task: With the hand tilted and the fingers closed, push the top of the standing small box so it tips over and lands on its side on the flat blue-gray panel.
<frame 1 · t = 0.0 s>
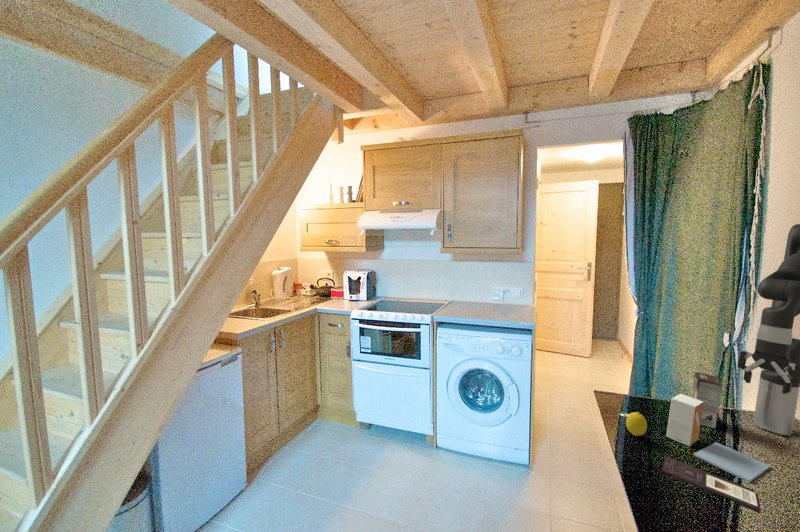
hand: (765, 387, 110), 17 cm above the countertop, tool pointing down, fingers open, 8 cm apart
lemon: (634, 436, 108), on the countertop
small box: (682, 439, 108), on the countertop
flat blue-gray panel: (731, 461, 98), on the countertop
chocolate bar: (706, 484, 88), on the countertop
coffee box: (701, 420, 121), on the countertop
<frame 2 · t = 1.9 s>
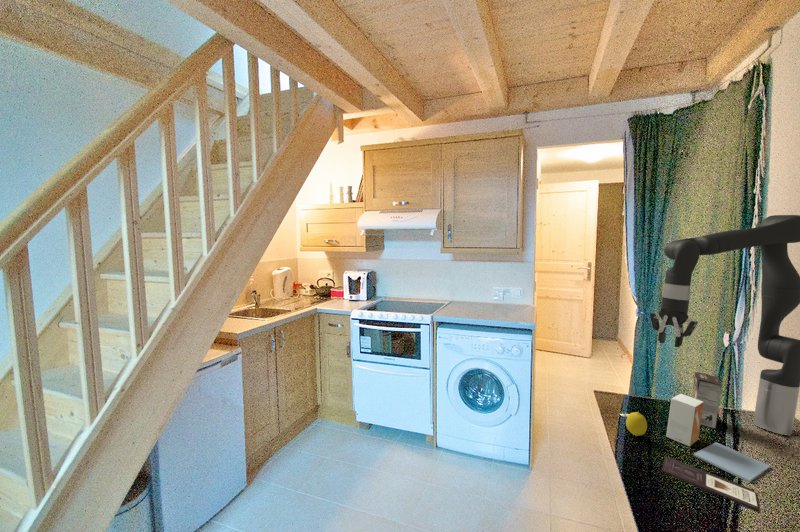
hand: (669, 344, 119), 27 cm above the countertop, tool pointing down, fingers open, 4 cm apart
nothing on the countertop moved.
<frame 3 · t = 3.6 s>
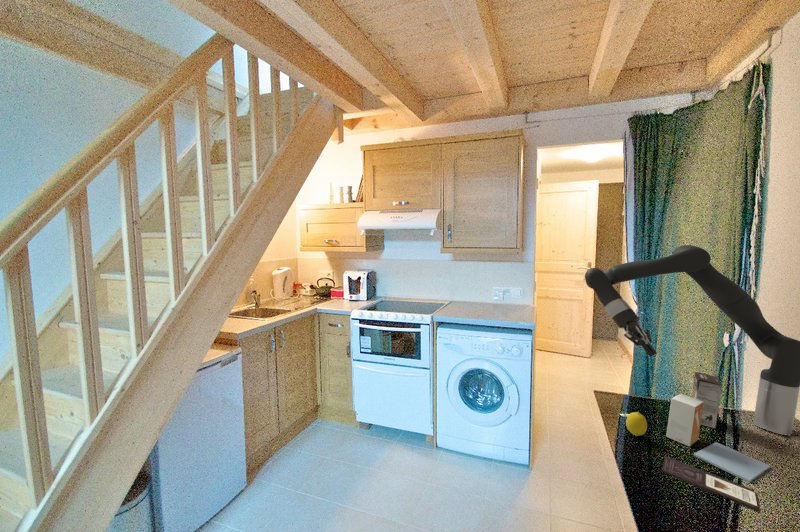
hand: (653, 355, 118), 24 cm above the countertop, tool tilted 45°, fingers closed
nothing on the countertop moved.
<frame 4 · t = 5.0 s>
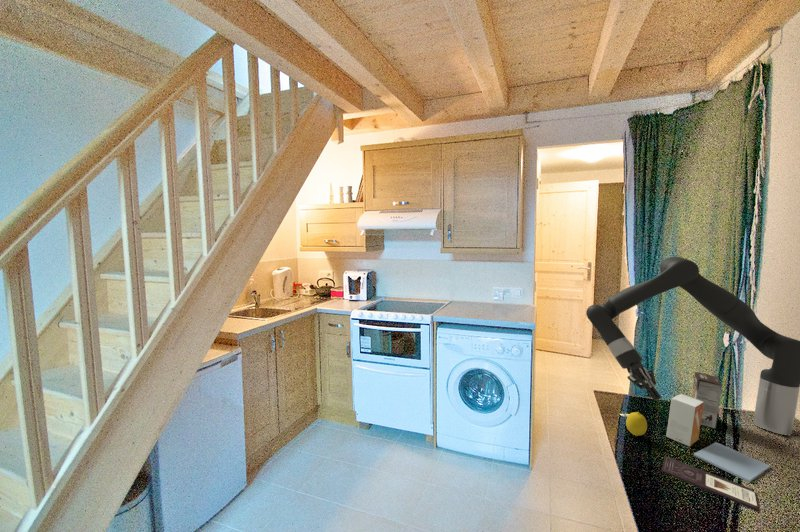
hand: (658, 399, 115), 9 cm above the countertop, tool tilted 45°, fingers closed
nothing on the countertop moved.
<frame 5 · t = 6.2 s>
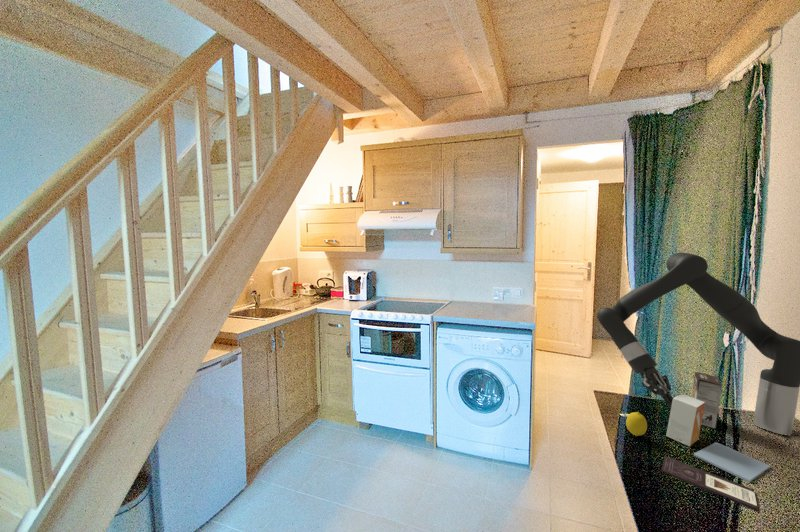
hand: (673, 405, 111), 9 cm above the countertop, tool tilted 45°, fingers closed
small box: (682, 438, 108), on the countertop, touching gripper
everything else where it was.
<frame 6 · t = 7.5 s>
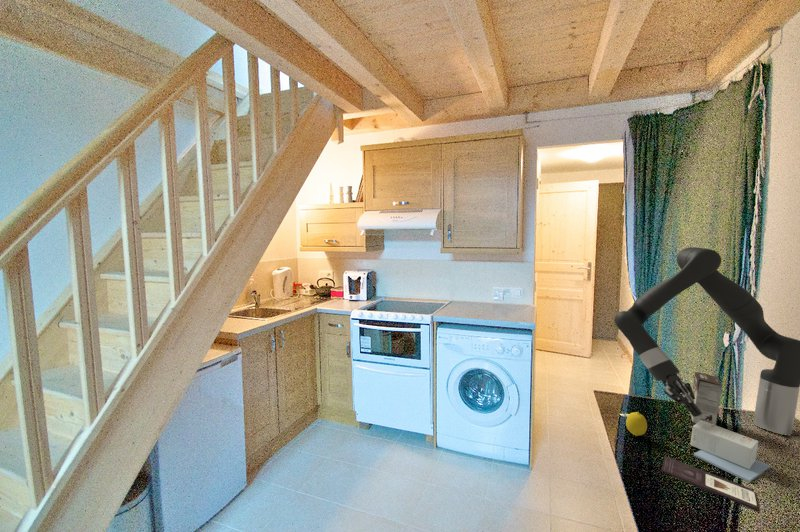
hand: (698, 415, 105), 9 cm above the countertop, tool tilted 45°, fingers closed
small box: (694, 431, 106), point 4 cm above the countertop, touching flat blue-gray panel
everything else where it was.
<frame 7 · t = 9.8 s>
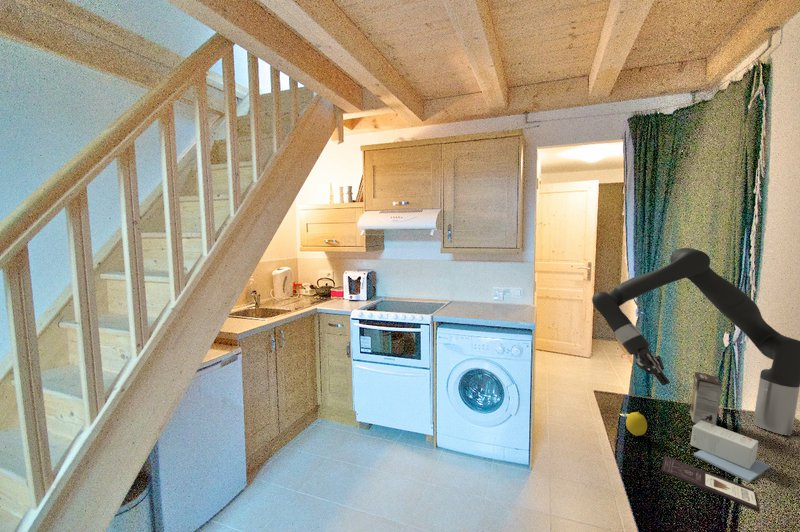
hand: (666, 384, 114), 15 cm above the countertop, tool tilted 45°, fingers closed
nothing on the countertop moved.
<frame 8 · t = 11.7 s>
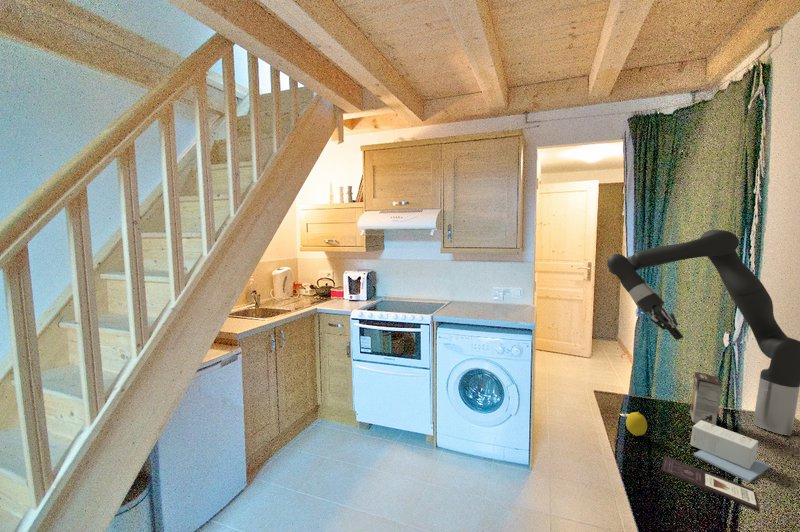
hand: (680, 338, 118), 30 cm above the countertop, tool tilted 45°, fingers closed
nothing on the countertop moved.
at the end: small box tilted 89°; small box inside the target area (6.8 cm from its centre), point 3.6 cm above the countertop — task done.
